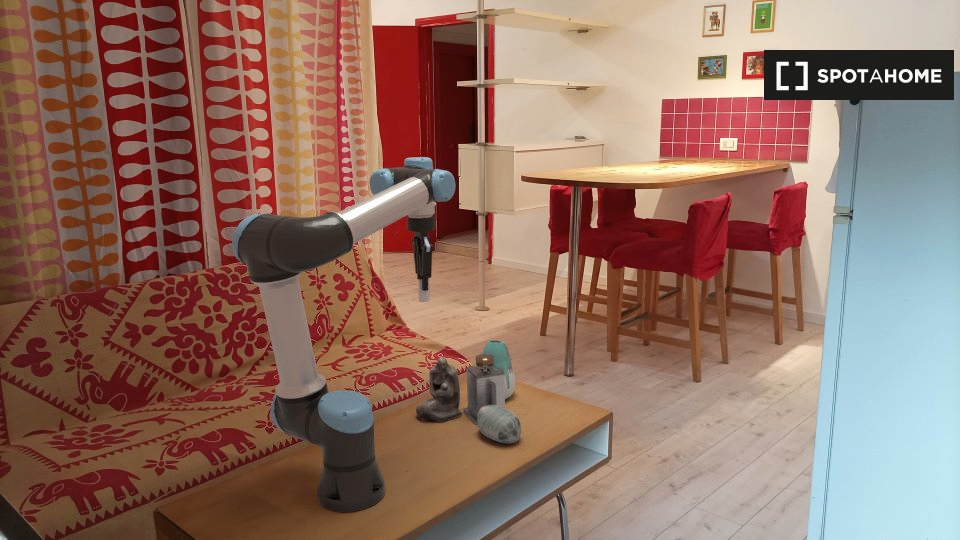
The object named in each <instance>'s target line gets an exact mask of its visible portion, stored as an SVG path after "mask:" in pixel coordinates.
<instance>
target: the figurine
mask: <svg viewBox="0 0 960 540" xmlns="http://www.w3.org/2000/svg"><path fill="white" fill-rule="evenodd" d="M428 374H429V376H428V377H429V379H428V380H429V381H428V382H429V394H430V396H431V398H427V399H426V400H423V401H422V402H420V403H419V404H418V405H417V406H416V408H415V413H416V416H417V418H418V419H420V420H423V421H425V422H429V423H431V422H432V423H433V422H434V423H444V422H447V421H449V420H453V419H456V418H459V417H460V416H461V415H463V411H462V410H461V409H459V408H460V404H461V403H460V402H461V389H460V387H461V385H460V380H459V376H458V375H459V373H458V369H456V367H455V366H453V365H451V364H449V363H448V361H447V358H446V357H444V356H440V357H438V359H437V361H435V364H434V366H432V367H431V368H430V370H429V373H428Z"/></svg>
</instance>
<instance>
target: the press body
mask: <svg viewBox="0 0 960 540" xmlns="http://www.w3.org/2000/svg"><path fill="white" fill-rule="evenodd" d="M466 394H467V396H466V397H467V400H466V401H467V407H463V412H464V413H465V415H467V417H468V418H469V419H470V420H471V421H472V422H473V423H474V424H475V425H476V426H478V423H477V416H478V412H479V410H480V409H481V408H482V407H484V406H487V405H497V406H501V407H504V408H506V399H505V383H504V372H503V371H502V370H501V369H499V368H498V367H497V366H496V365H495V364H494V365H493V366H490V367H487V371H486V372H483V367H479V366H477V365H474V366H466Z"/></svg>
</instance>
